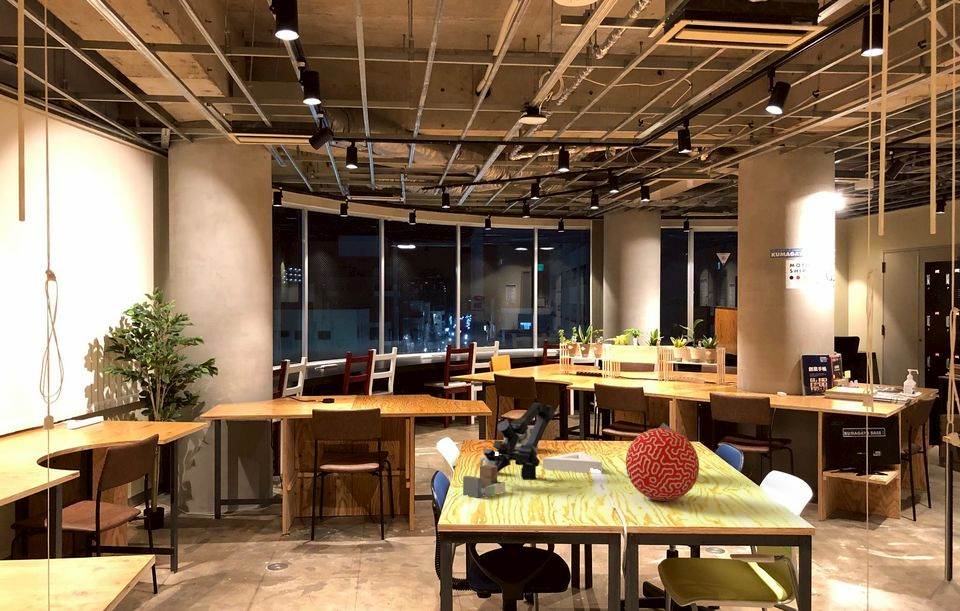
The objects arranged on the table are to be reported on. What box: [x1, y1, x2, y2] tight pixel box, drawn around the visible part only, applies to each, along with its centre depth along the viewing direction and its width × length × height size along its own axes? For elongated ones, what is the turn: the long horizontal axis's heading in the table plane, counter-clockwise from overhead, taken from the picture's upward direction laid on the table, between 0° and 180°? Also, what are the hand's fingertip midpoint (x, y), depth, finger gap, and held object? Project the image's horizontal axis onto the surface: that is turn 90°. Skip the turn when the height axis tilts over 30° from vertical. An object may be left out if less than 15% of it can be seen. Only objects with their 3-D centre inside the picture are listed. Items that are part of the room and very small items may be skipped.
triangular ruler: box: [542, 450, 603, 474], centre depth 370 cm, size 30×26×6 cm
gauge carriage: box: [479, 464, 502, 488], centre depth 316 cm, size 5×11×9 cm, turn 53°
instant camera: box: [503, 425, 539, 453], centre depth 415 cm, size 21×21×15 cm
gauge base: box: [481, 481, 506, 498], centre depth 313 cm, size 14×11×4 cm
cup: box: [478, 455, 500, 475], centre depth 354 cm, size 7×10×9 cm
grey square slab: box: [462, 475, 481, 498], centre depth 308 cm, size 2×8×8 cm, turn 52°
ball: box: [625, 427, 700, 502], centre depth 301 cm, size 30×30×30 cm
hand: (495, 472), depth 321 cm, fingers closed
